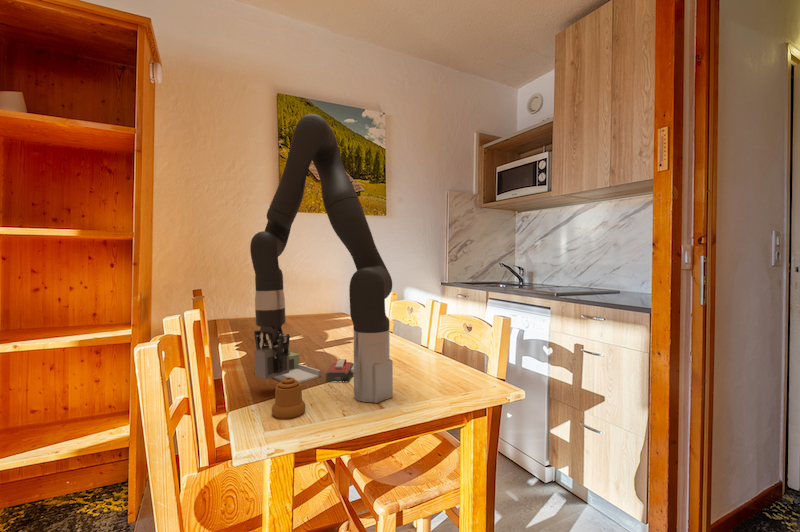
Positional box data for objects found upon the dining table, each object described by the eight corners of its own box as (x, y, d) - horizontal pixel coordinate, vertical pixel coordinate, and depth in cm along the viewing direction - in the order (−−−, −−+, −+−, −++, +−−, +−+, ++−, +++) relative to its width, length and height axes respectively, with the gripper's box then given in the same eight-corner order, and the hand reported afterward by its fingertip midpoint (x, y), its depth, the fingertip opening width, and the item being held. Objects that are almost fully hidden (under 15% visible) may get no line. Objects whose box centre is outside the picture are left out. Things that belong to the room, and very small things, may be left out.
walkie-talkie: (354, 384, 110) (363, 364, 130) (354, 369, 109) (363, 351, 129) (323, 384, 110) (337, 364, 130) (323, 369, 110) (337, 351, 130)
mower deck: (322, 376, 116) (322, 351, 116) (288, 386, 107) (288, 359, 107) (287, 364, 129) (287, 342, 128) (254, 372, 120) (254, 349, 120)
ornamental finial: (277, 407, 93) (308, 406, 93) (267, 420, 85) (301, 419, 85) (276, 374, 93) (308, 373, 93) (266, 384, 85) (300, 384, 85)
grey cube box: (289, 372, 104) (288, 346, 104) (265, 379, 98) (264, 352, 98) (279, 369, 107) (278, 344, 107) (255, 375, 102) (254, 349, 102)
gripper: (298, 307, 101) (300, 371, 101) (268, 304, 110) (270, 363, 110) (272, 310, 95) (274, 379, 95) (243, 307, 104) (245, 369, 105)
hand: (272, 370), depth 103 cm, fingers closed on grey cube box, 5 cm apart
